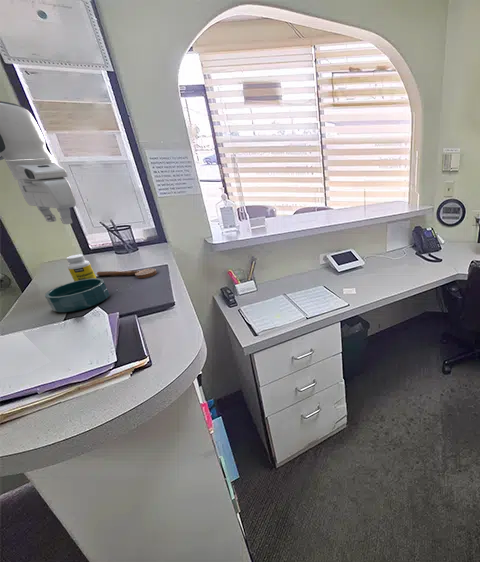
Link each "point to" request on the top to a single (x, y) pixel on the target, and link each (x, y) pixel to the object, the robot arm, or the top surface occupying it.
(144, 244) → the top surface
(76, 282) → the bowl
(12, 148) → the robot arm
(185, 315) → the top surface
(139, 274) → the spoon
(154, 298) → the top surface
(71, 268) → the supplement bottle
